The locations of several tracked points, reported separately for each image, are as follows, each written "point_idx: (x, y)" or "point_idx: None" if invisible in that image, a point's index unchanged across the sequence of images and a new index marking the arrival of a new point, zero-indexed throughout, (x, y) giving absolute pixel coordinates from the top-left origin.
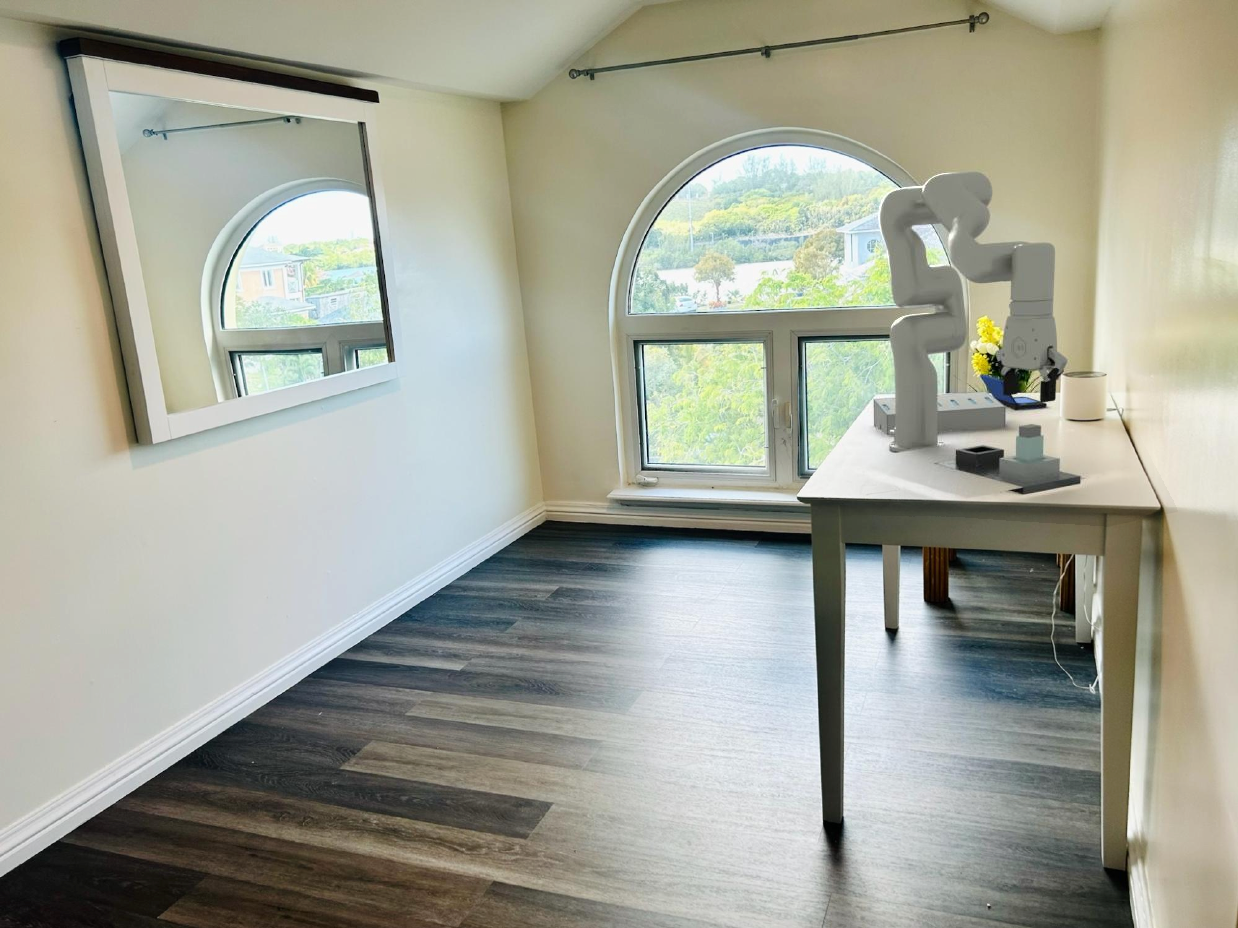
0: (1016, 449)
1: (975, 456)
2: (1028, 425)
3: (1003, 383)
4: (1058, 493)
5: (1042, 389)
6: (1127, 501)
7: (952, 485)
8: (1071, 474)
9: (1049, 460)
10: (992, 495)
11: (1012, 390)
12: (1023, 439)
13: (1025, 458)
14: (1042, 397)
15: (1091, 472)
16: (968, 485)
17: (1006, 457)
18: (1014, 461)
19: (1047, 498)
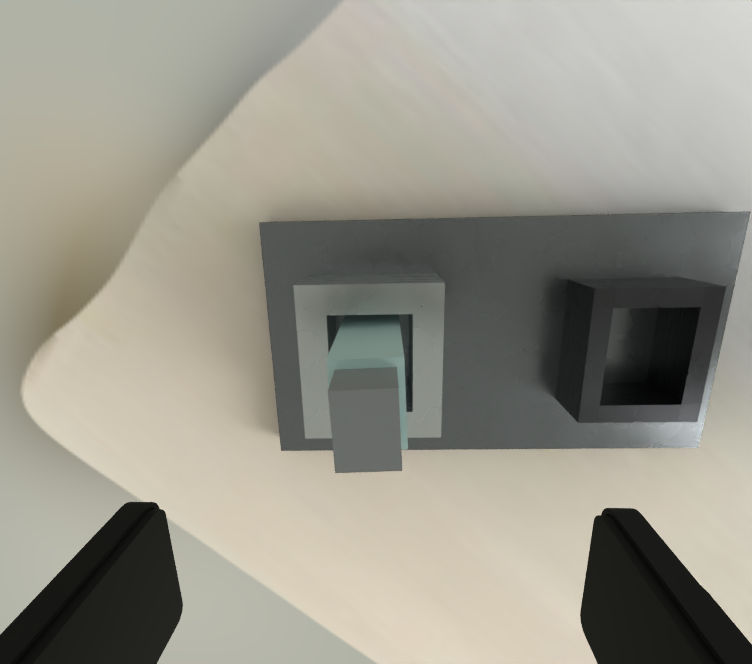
0: (397, 336)
1: (594, 287)
2: (379, 433)
3: (719, 612)
4: (227, 316)
5: (39, 601)
6: (71, 392)
7: (507, 111)
8: (311, 445)
9: (302, 394)
10: (312, 131)
11: (604, 605)
12: (356, 356)
13: (348, 330)
14: (103, 528)
15: (370, 541)
16: (470, 160)
17: (439, 313)
18: (362, 287)
19: (194, 249)
